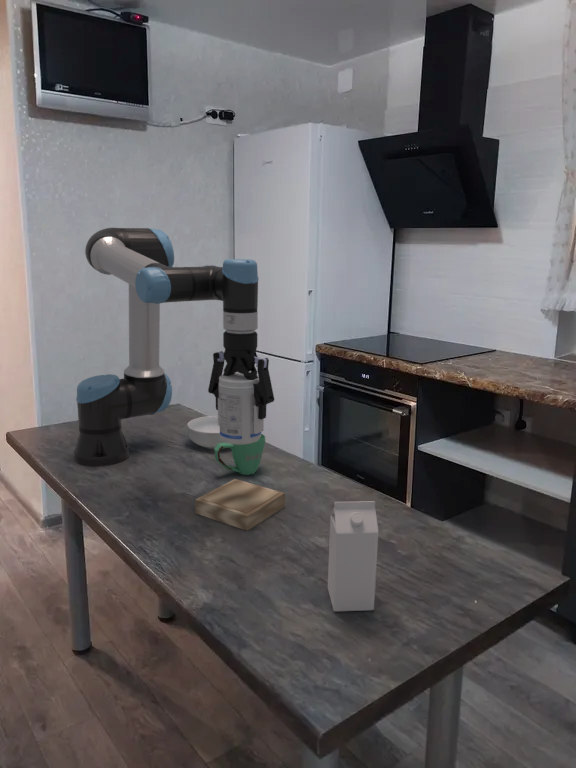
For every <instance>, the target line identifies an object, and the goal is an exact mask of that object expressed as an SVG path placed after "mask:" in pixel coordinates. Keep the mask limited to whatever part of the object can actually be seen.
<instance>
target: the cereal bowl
mask: <svg viewBox="0 0 576 768" xmlns="http://www.w3.org/2000/svg"><path fill="white" fill-rule="evenodd" d="M186 426H187V427H186V428H187V435H188V437H189V439H190V440H191V441H192V442H193V443H194V444H196V445H198V446H201V447H203V448H205V449H209V450H214V449H215V447H216V446H217V444H219V443H226V442H224V441H223V440H222V439H221V438H220V426H219V425H218V415H207V416H201V417H196V418H194V419H191V420H189V421H188V422H187V425H186Z"/></svg>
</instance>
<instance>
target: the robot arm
mask: <svg viewBox="0 0 576 768" xmlns="http://www.w3.org/2000/svg"><path fill="white" fill-rule="evenodd" d="M84 251H85V252H84V253H85V258H86V260H87V263H88V264H89V265H90V266H91V268H93V269H94V271H95V270H96V271H97V272H99V274H103V275H108V276H109V275H112V276H114V277H116V278H117V279H120V280H121V281H123V282H125V283H126V284H128V364H129V365H128V366H127V367H125V369H124V370H123V378H120V377H119V376H118V375H116V374H101V375H100V374H99V375H94V376H91V377H88V378H85V379H83V380H82V381H80V382H79V383H78V384H77V386H76V399H75V400H76V403H77V404H76V405H77V416H78V418H77V419H78V432H79V433H78V437H77V441H76V445H75V449H74V452H73V455H74V461H75V462H76V463H77V464H79V465H83V466H91V467H92V466H93V467H97V466H98V467H99V466H100V467H101V466H103V467H104V466H109V465H115V464H118V463H120V462H122V461H125V460H127V459H128V458H129V456H130V449H129V445H128V444H127V440H126V437H125V435H124V433H123V429H122V420H125V419H126V420H127V419H130V418H136V417H142V416H148V415H149V416H150V415H155V414H157V413H162V412H164V411H166V409H167V408H168V407H169V406H170V403H171V402H172V397H173V385H172V382H171V379H170V377H169V376H168V375H167V374H165V369H164V368H163V367H162V366H161V365H160V333H161V332H160V331H161V330H160V328H161V327H160V326H161V325H160V324H161V323H160V321H161V320H160V319H161V317H160V316H161V314H160V313H161V311H160V310H161V309H160V308H161V307H160V306H161V304H163V303H164V304H165V303H177V302H179V303H181V302H198V301H201V302H202V301H222V306H223V307H222V308H223V309H222V311H223V312H222V316H223V317H222V318H223V320H222V321H223V323H222V326H223V329H224V330H225V331H224V332H223V334H222V336H223V337H222V340H223V345H222V346H223V348H224V351H222V350H221V351H217V352H213V354H212V357H213V365H212V369H211V374H210V380H209V385H208V390H207V391H208V393H209V394H212V395H214V397H215V409H216V411H217V416H218V425H219V426H220V423H219V377H220V376H221V375H223V376H230V375H233V374H234V373H237V372H239V373H242V374H243V375H244V377H245V378H247V380H254V379H257V378H258V376H259V382H258V383H257V384H253V386H254V398H255V400H256V402H257V404H256V405H254V434H258V433H260V432H261V433H262V432H264V426H265V425H264V419H266V418H267V405H268V404H271V403H273V402H274V401H275V395H274V391H273V386H272V380H271V376H270V372H269V365H270V363H269V362H270V360H269V358H268V357H265V358H264V357H263V358H262V357H260V356H259V357H258V355H257V348H258V332H257V331H256V330H257V329H258V327H259V324H258V322H259V321H258V320H259V319H258V308H259V307H258V306H259V305H258V304H259V303H258V302H259V301H258V299H259V296H258V295H259V273H258V263H257V262H256V261H255V260H254V259H249V258H248V259H245V258H227V259H225V260H223V262H222V266H217V265H202V266H174V263H175V252H174V247H173V243H172V241H171V240H170V238H169V235H168V234H167V233H166V232H165V231H163V230H161V229H156V228H149V227H106V228H102V229H100V230H98V231H96V232H95V233H93V234H92V235H91V236H90V238H89V239H88V241H87V242H86V245H85V249H84ZM225 362H226V365H225ZM224 365H225V367H224ZM257 375H258V376H257Z"/></svg>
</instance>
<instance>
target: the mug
mask: <svg viewBox="0 0 576 768" xmlns="http://www.w3.org/2000/svg"><path fill="white" fill-rule="evenodd" d="M265 444H266V436H265V435H264V434H263V433H261V437H260V439H259V440H258V441H256V442H253V443H250V444H242V445H237V444H230V443H219V444H217V446H216V447H215V449H213V451H214V456H215V457H214V458H215V461H217V463H218V464H220V465H221V466H222V467H223V468H224V469H225V470H228V471H232V472H237V473H238V474H240V475H242V476H243V475H244V476H245V475H246V476H250V474H251V475H254V474H256V473H255V472H257V471H258V468H259V465H260V463H261V460H262V456H263V453H264V448H265ZM222 449H230V450H231V455H232V458H233V461H234V464H235V466H232V465H228V464H226V463H225V461H223V460H222V458H221V454H220V451H221V450H222Z"/></svg>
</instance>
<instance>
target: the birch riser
mask: <svg viewBox="0 0 576 768" xmlns="http://www.w3.org/2000/svg"><path fill="white" fill-rule="evenodd" d="M285 496H286V493H285V492H282V491H279V490H275V489H272V488H268V487H265V486H262V485H258V484H254V483H252V482H248V481H244V480H241V479H237V478H234V479H232V480H230V481H228V482H226V483H225V484H222V485H221V486H218V487H217V488H214V489H213V490H211V491H209V492H207V493H205V494H203V495H202V496H199V497H198V498H197V497H196V499H194V501H195V503H194V504H195V505H194V507H195V508H194V509H195V514H196V515H198V516H202V517H205V518H208V519H211V520H213V521H217V522H220V523H223V524H226V525H229V526H232V527H235V528H238V529H241V530H244V531H247V532H248V531H250V530H251V529H252V528H254V527H256V526H258V525H259V524H260V523H262V522H263V521H265V520H266V519H268V518H270V517H272V516H273V515H274V514H276V513H277V512H278V511H280V510H282V509H284V508H285V503H286V499H285V498H286V497H285Z"/></svg>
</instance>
